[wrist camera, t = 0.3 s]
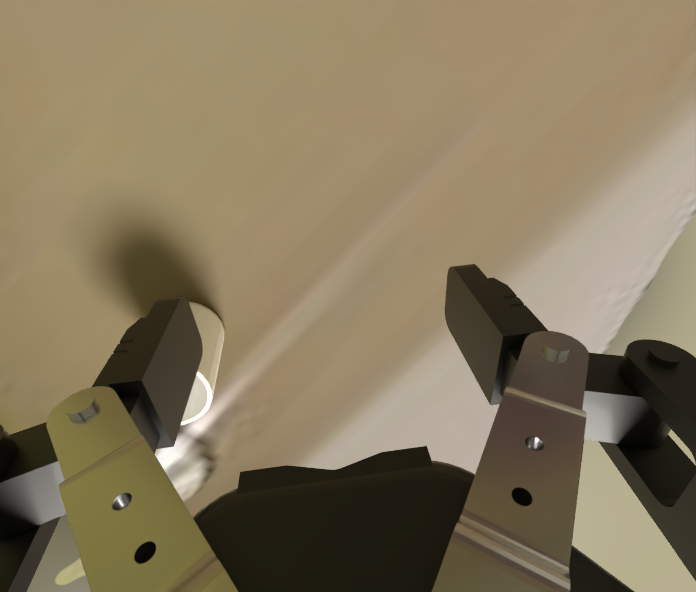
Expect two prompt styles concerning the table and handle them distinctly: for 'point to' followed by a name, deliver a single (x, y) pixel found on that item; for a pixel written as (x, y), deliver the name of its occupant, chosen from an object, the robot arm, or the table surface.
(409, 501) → the robot arm
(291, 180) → the table surface
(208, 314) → the mug
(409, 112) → the table surface
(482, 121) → the table surface
